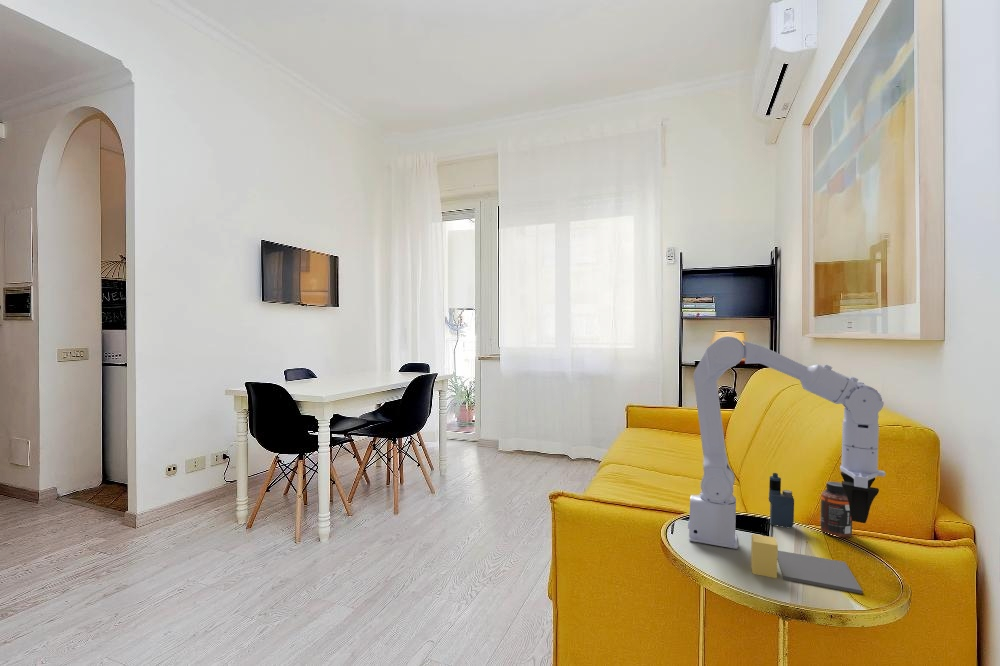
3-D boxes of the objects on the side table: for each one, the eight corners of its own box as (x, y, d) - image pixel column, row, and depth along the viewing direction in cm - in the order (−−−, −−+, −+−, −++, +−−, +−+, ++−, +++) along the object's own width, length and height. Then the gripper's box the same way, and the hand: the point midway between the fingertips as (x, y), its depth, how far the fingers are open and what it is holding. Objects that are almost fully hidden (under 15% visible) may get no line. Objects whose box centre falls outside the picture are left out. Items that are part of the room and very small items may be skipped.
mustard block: (752, 573, 93) (753, 541, 93) (750, 564, 96) (751, 533, 96) (776, 578, 91) (777, 545, 91) (774, 568, 95) (775, 537, 95)
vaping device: (767, 521, 119) (768, 471, 119) (792, 525, 117) (793, 474, 117) (768, 525, 117) (769, 474, 117) (794, 529, 115) (795, 477, 115)
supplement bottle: (857, 540, 109) (858, 488, 109) (827, 537, 111) (828, 486, 111) (844, 529, 115) (845, 481, 115) (815, 527, 116) (817, 479, 116)
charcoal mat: (783, 579, 91) (783, 575, 91) (775, 552, 102) (775, 550, 102) (862, 594, 86) (862, 590, 86) (845, 564, 97) (845, 561, 97)
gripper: (889, 456, 88) (887, 532, 88) (882, 442, 100) (880, 509, 100) (841, 450, 92) (839, 523, 92) (840, 437, 104) (838, 502, 104)
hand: (857, 515), depth 97 cm, fingers open, 7 cm apart
